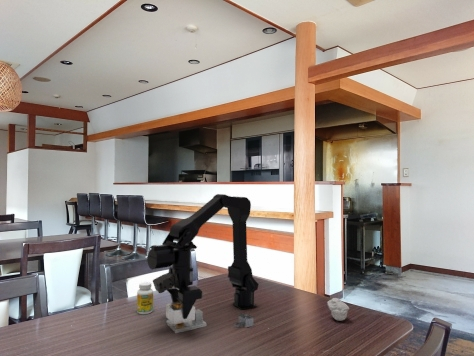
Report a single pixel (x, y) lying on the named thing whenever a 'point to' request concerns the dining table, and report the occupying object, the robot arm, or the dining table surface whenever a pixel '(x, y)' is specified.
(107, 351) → the dining table surface
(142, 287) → the supplement bottle
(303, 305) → the dining table surface
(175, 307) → the grey square frame
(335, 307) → the grey stone carving
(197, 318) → the peg stand
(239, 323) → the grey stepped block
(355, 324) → the dining table surface
